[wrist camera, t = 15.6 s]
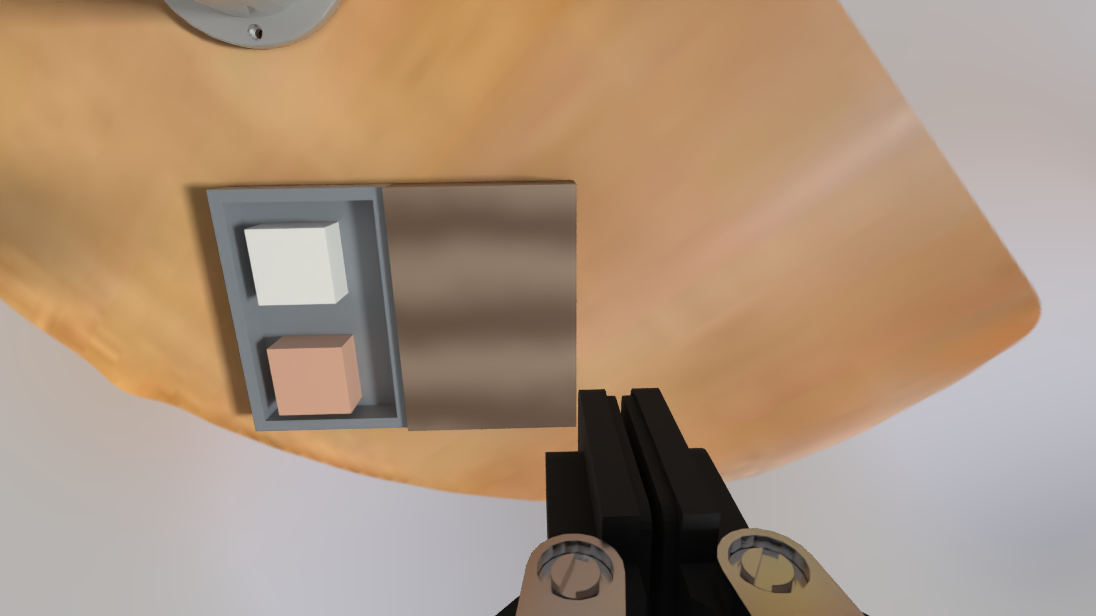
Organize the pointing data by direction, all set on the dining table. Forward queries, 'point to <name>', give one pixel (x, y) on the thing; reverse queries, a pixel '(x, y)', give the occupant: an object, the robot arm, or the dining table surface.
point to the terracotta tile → (315, 374)
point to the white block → (297, 263)
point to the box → (355, 313)
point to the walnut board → (485, 302)
